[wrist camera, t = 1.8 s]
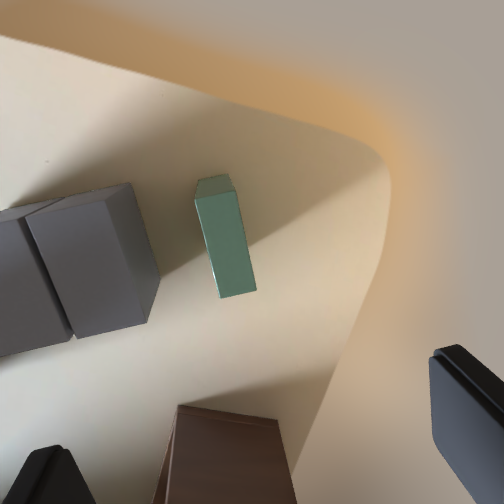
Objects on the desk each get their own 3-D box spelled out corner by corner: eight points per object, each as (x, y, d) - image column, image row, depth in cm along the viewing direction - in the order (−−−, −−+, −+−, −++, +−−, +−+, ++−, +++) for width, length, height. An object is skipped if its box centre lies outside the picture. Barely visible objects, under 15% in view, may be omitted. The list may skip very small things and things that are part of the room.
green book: (228, 173, 31) (235, 189, 22) (244, 249, 33) (257, 290, 25) (198, 180, 31) (194, 199, 22) (216, 256, 33) (219, 299, 25)
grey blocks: (130, 182, 30) (104, 199, 23) (161, 279, 33) (147, 323, 26) (4, 209, 30) (-66, 236, 22) (46, 305, 33) (-3, 358, 25)
